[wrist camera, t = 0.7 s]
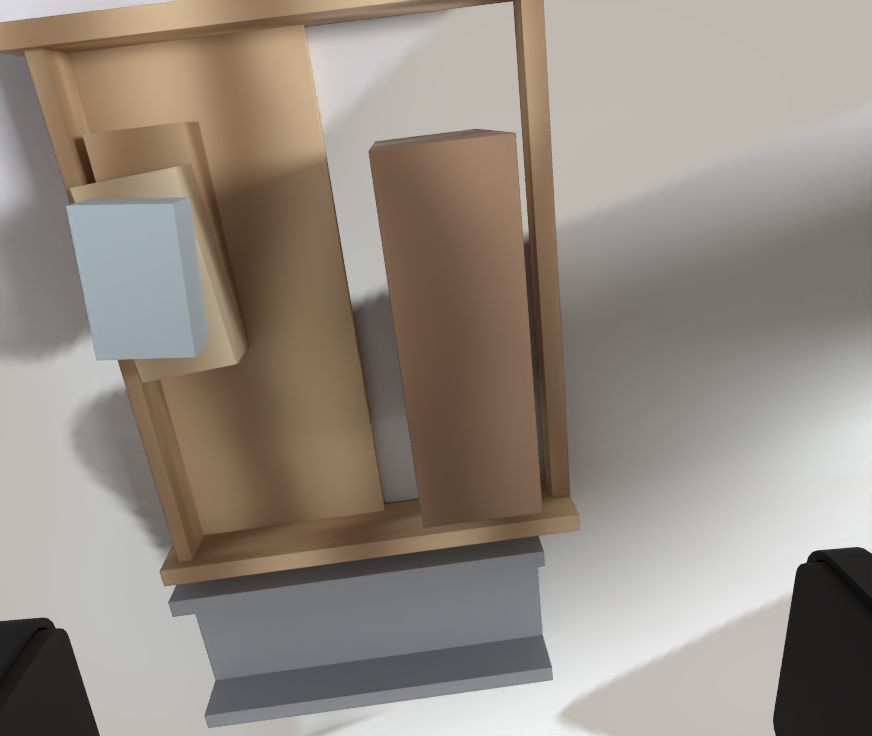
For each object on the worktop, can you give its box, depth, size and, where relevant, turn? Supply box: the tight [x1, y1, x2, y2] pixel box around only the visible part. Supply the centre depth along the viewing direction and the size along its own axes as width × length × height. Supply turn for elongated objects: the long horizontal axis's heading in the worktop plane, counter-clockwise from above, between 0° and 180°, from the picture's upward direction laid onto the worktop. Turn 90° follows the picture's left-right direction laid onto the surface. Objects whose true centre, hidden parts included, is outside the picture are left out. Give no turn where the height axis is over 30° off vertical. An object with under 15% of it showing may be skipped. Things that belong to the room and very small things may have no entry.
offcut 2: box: [82, 122, 250, 364], centre depth 26 cm, size 4×9×2 cm, turn 7°
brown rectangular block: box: [369, 129, 542, 528], centre depth 24 cm, size 4×12×9 cm, turn 7°
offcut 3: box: [70, 164, 247, 383], centre depth 24 cm, size 4×7×2 cm, turn 11°
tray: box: [0, 0, 579, 586], centre depth 27 cm, size 18×22×3 cm
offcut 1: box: [66, 197, 209, 360], centre depth 22 cm, size 3×5×2 cm, turn 1°
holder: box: [168, 536, 553, 728], centre depth 33 cm, size 17×8×3 cm, turn 97°
